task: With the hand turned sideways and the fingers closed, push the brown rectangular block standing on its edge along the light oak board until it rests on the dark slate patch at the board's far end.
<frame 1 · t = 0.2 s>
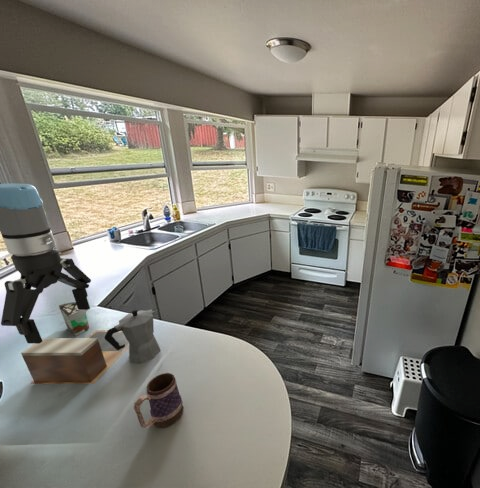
hand: (62, 324, 67), 22 cm above the table, tool pointing down, fingers open, 13 cm apart
mug: (163, 421, 65), on the table
wooden board: (95, 355, 85), on the table
food container: (82, 328, 97), on the table
coffeepot: (142, 357, 85), on the table
brown rectangular block: (72, 374, 77), point 1 cm above the table, touching wooden board
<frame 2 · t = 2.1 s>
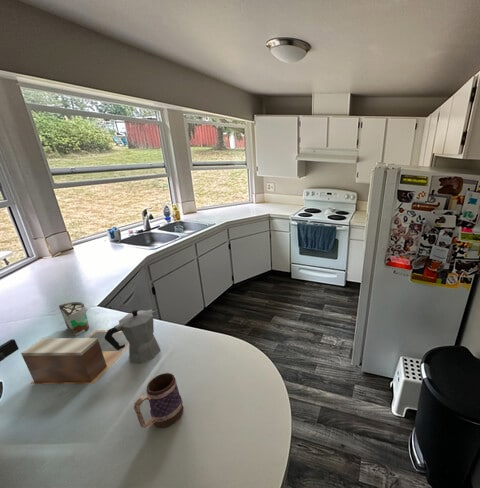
nothing on the table moved.
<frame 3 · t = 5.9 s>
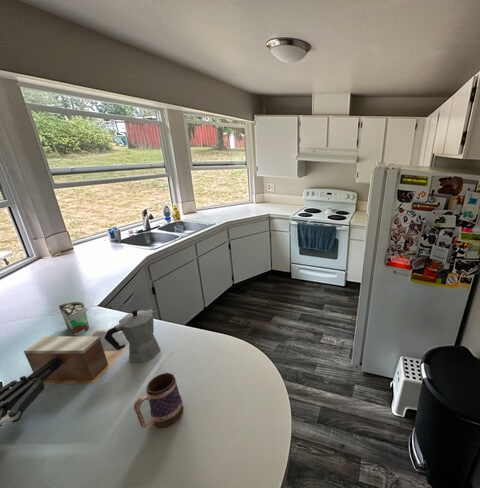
hand: (56, 362, 72), 8 cm above the table, tool horizontal, fingers closed
brown rectangular block: (73, 372, 77), point 1 cm above the table, touching gripper
everything else where it was.
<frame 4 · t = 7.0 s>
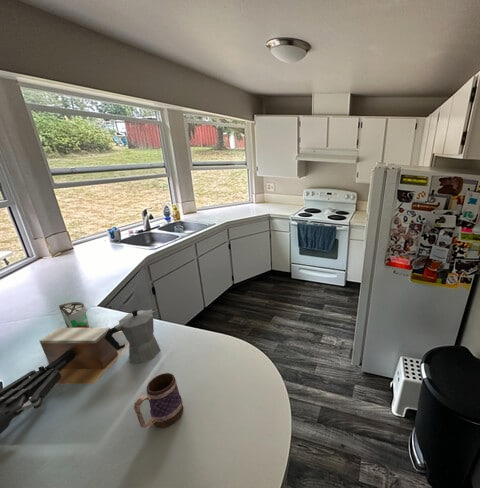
hand: (71, 354, 76), 7 cm above the table, tool horizontal, fingers closed
brown rectangular block: (85, 361, 81), point 1 cm above the table, touching gripper, wooden board
everything else where it was.
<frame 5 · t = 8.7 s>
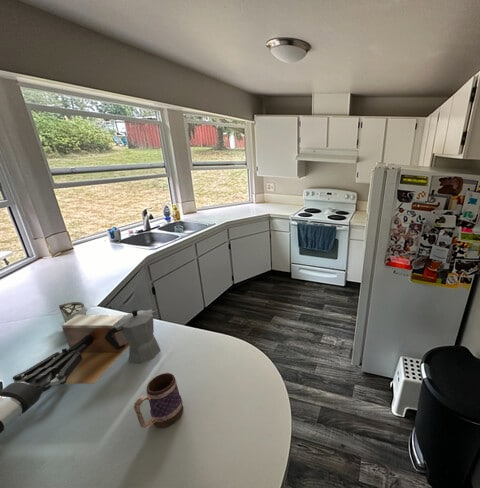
hand: (90, 338, 83), 7 cm above the table, tool horizontal, fingers closed
brown rectangular block: (102, 346, 88), point 1 cm above the table, touching wooden board
everything else where it was.
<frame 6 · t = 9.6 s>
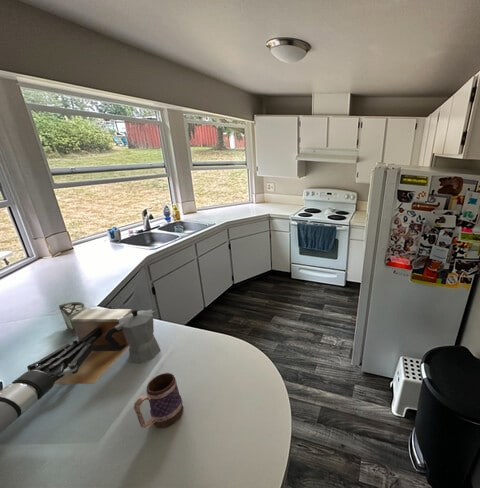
hand: (98, 331, 86), 7 cm above the table, tool horizontal, fingers closed
brown rectangular block: (110, 339, 91), point 1 cm above the table, touching gripper
everything else where it was.
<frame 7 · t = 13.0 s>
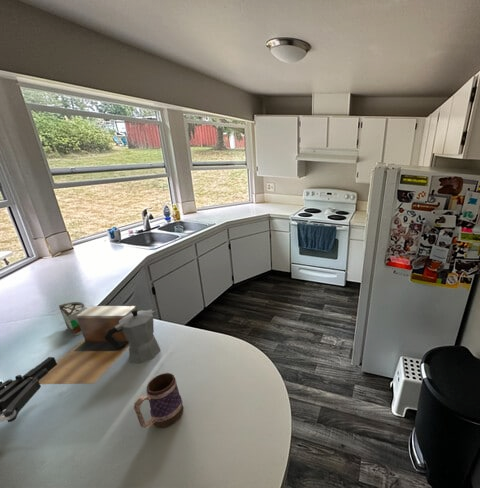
hand: (52, 360, 71), 9 cm above the table, tool horizontal, fingers closed
brown rectangular block: (114, 335, 93), point 1 cm above the table, touching wooden board
everything else where it was.
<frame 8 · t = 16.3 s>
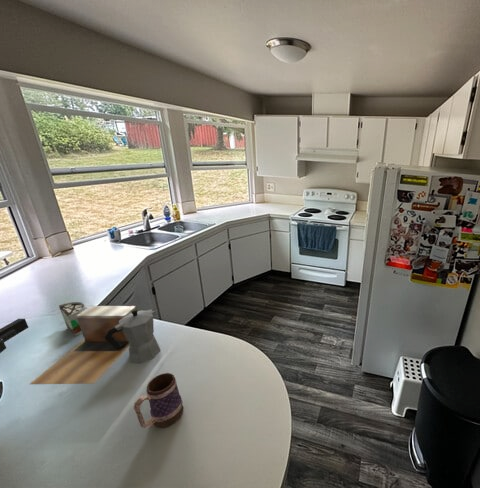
hand: (23, 323, 63), 24 cm above the table, tool horizontal, fingers closed
nothing on the table moved.
at the end: brown rectangular block inside the target area (2.8 cm from its centre), point 0.8 cm above the table; brown rectangular block tilted 0°; brown rectangular block moved 17.3 cm from its start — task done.
